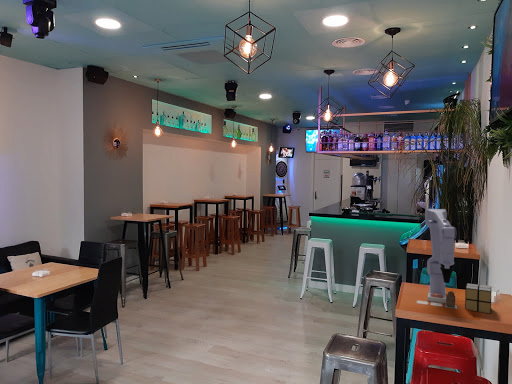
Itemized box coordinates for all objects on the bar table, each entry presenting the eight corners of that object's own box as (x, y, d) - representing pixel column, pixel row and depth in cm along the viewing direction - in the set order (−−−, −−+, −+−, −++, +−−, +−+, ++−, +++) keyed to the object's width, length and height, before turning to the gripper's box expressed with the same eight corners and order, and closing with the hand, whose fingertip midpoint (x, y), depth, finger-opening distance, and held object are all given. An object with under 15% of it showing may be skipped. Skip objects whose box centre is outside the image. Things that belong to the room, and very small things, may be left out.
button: (431, 298, 190) (431, 292, 190) (442, 299, 188) (442, 293, 188) (431, 301, 186) (431, 294, 186) (442, 302, 184) (442, 296, 184)
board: (415, 301, 186) (415, 299, 186) (458, 306, 178) (458, 305, 178) (415, 304, 181) (415, 303, 181) (458, 310, 173) (458, 309, 173)
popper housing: (428, 297, 192) (428, 292, 192) (446, 299, 189) (446, 294, 189) (427, 302, 185) (427, 296, 185) (446, 304, 182) (446, 299, 182)
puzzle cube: (466, 304, 183) (466, 283, 182) (490, 308, 178) (491, 286, 177) (464, 310, 174) (465, 287, 174) (491, 314, 169) (491, 291, 169)
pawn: (446, 304, 179) (447, 290, 179) (454, 305, 178) (455, 291, 178) (446, 306, 176) (446, 291, 176) (455, 307, 175) (455, 292, 175)
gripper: (438, 249, 192) (437, 276, 192) (437, 254, 179) (436, 283, 179) (454, 250, 189) (453, 278, 189) (454, 255, 176) (454, 285, 176)
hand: (446, 280), depth 184 cm, fingers open, 7 cm apart
